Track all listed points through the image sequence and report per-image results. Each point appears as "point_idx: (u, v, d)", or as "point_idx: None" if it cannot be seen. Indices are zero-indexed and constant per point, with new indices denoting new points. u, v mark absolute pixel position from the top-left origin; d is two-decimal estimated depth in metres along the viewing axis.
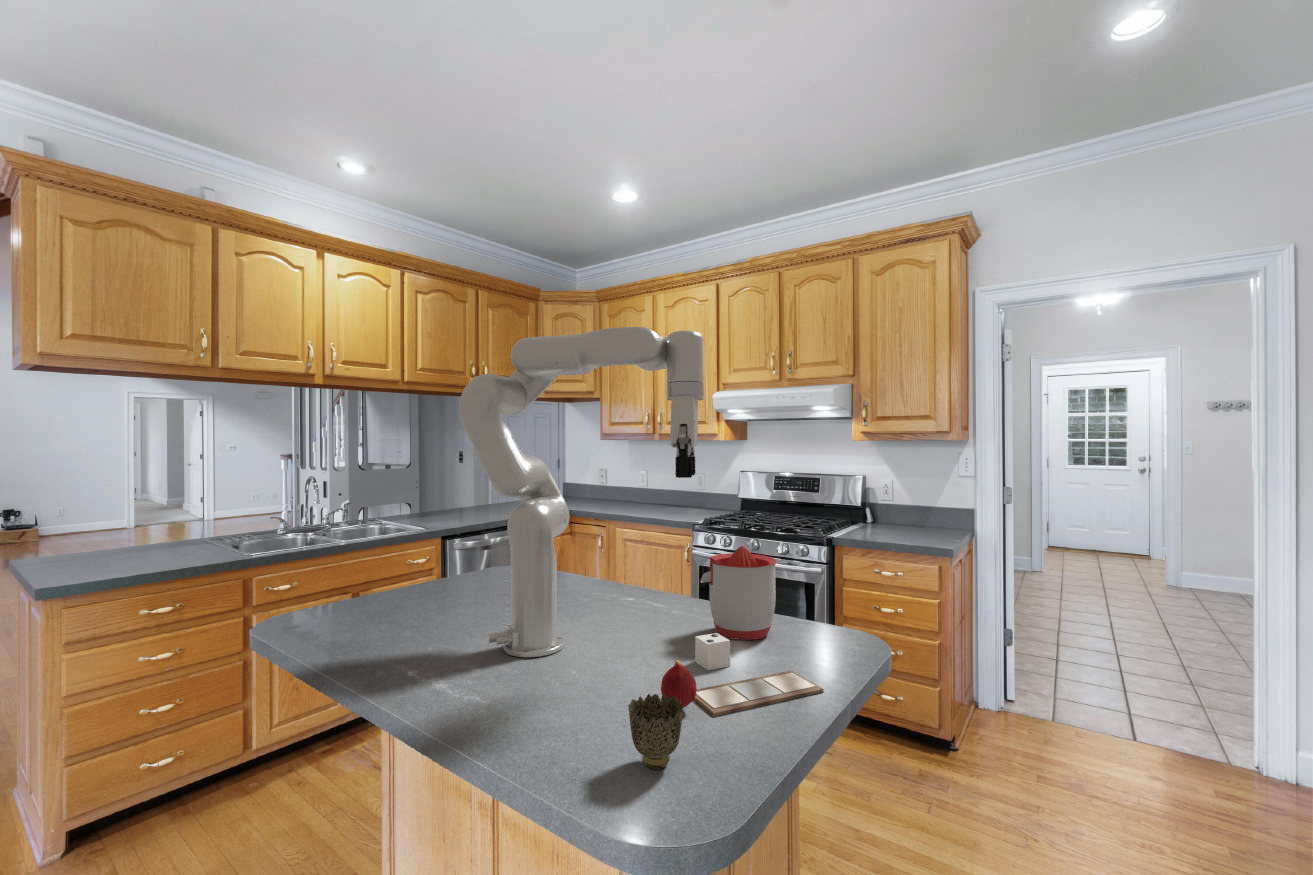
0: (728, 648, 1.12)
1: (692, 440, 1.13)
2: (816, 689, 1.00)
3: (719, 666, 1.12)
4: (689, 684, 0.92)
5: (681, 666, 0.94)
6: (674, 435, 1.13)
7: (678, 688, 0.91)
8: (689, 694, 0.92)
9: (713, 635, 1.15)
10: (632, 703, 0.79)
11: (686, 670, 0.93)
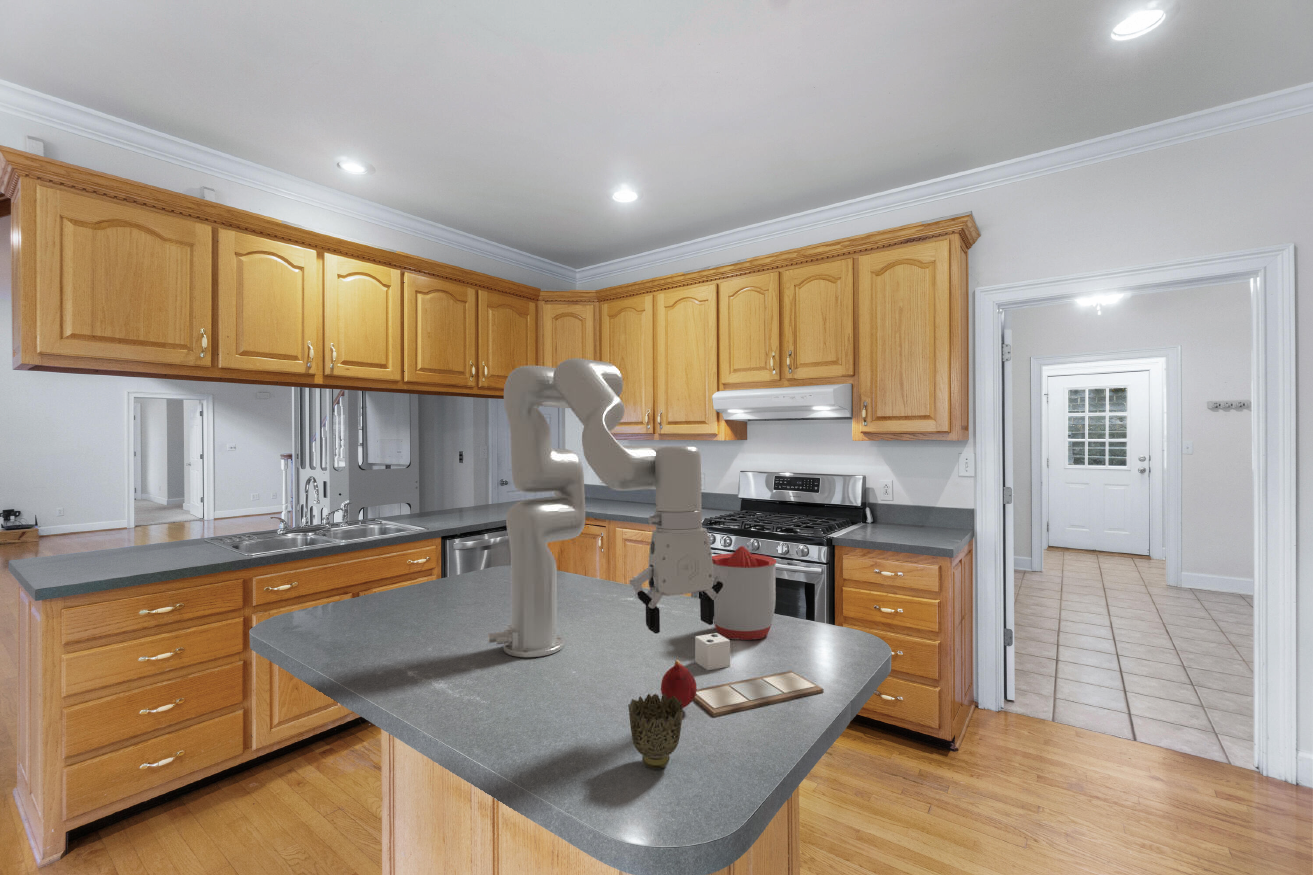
0: (728, 648, 1.12)
1: None
2: (816, 689, 1.00)
3: (719, 666, 1.12)
4: (689, 684, 0.92)
5: (681, 666, 0.94)
6: None
7: (678, 688, 0.91)
8: (689, 694, 0.92)
9: (713, 635, 1.15)
10: (632, 703, 0.79)
11: (686, 670, 0.93)
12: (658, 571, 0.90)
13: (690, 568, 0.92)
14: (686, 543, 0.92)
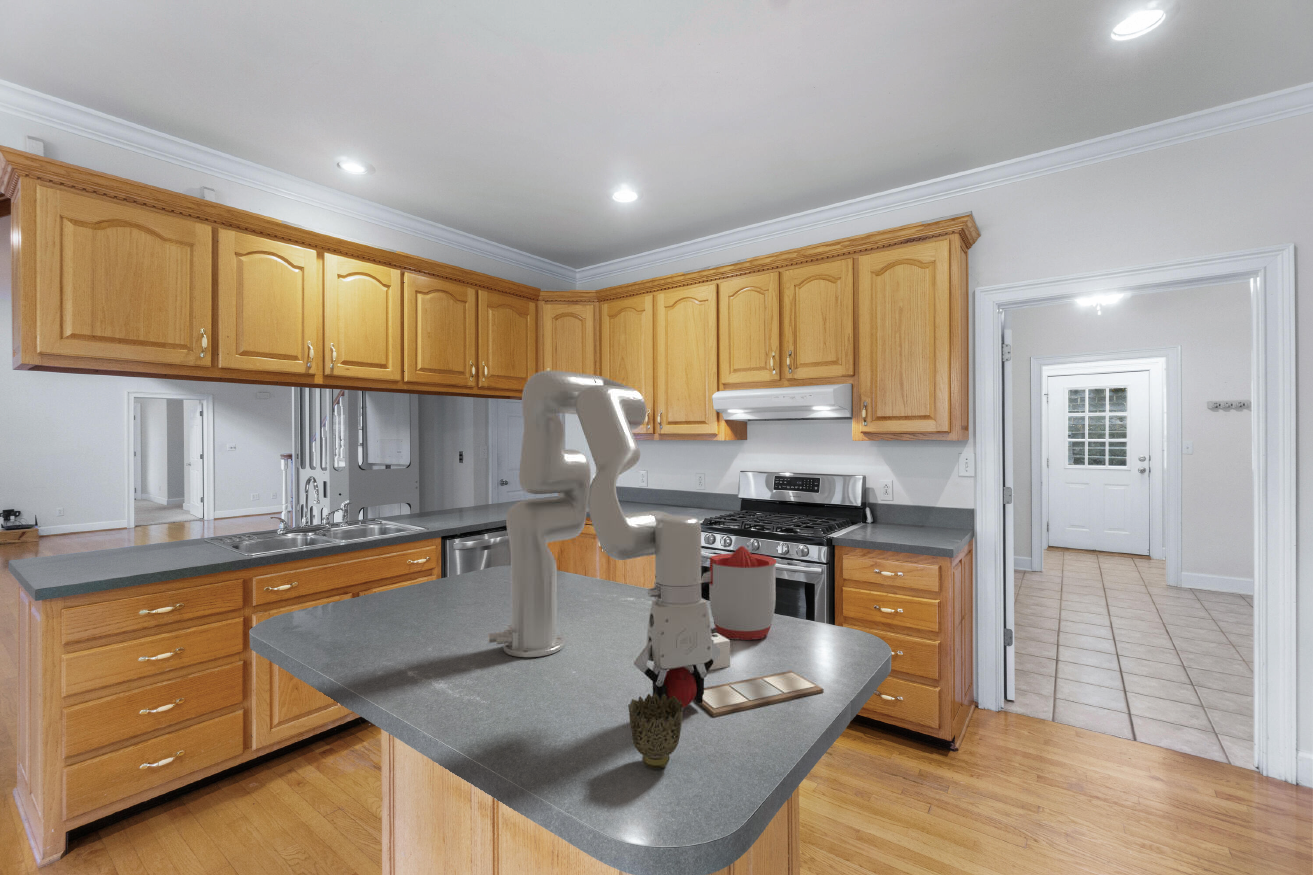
0: (728, 648, 1.12)
1: None
2: (816, 689, 1.00)
3: (719, 666, 1.12)
4: (689, 684, 0.92)
5: None
6: None
7: (678, 688, 0.91)
8: (689, 694, 0.92)
9: (713, 635, 1.15)
10: (632, 703, 0.79)
11: (686, 670, 0.93)
12: (657, 646, 0.90)
13: (689, 641, 0.92)
14: (685, 616, 0.92)
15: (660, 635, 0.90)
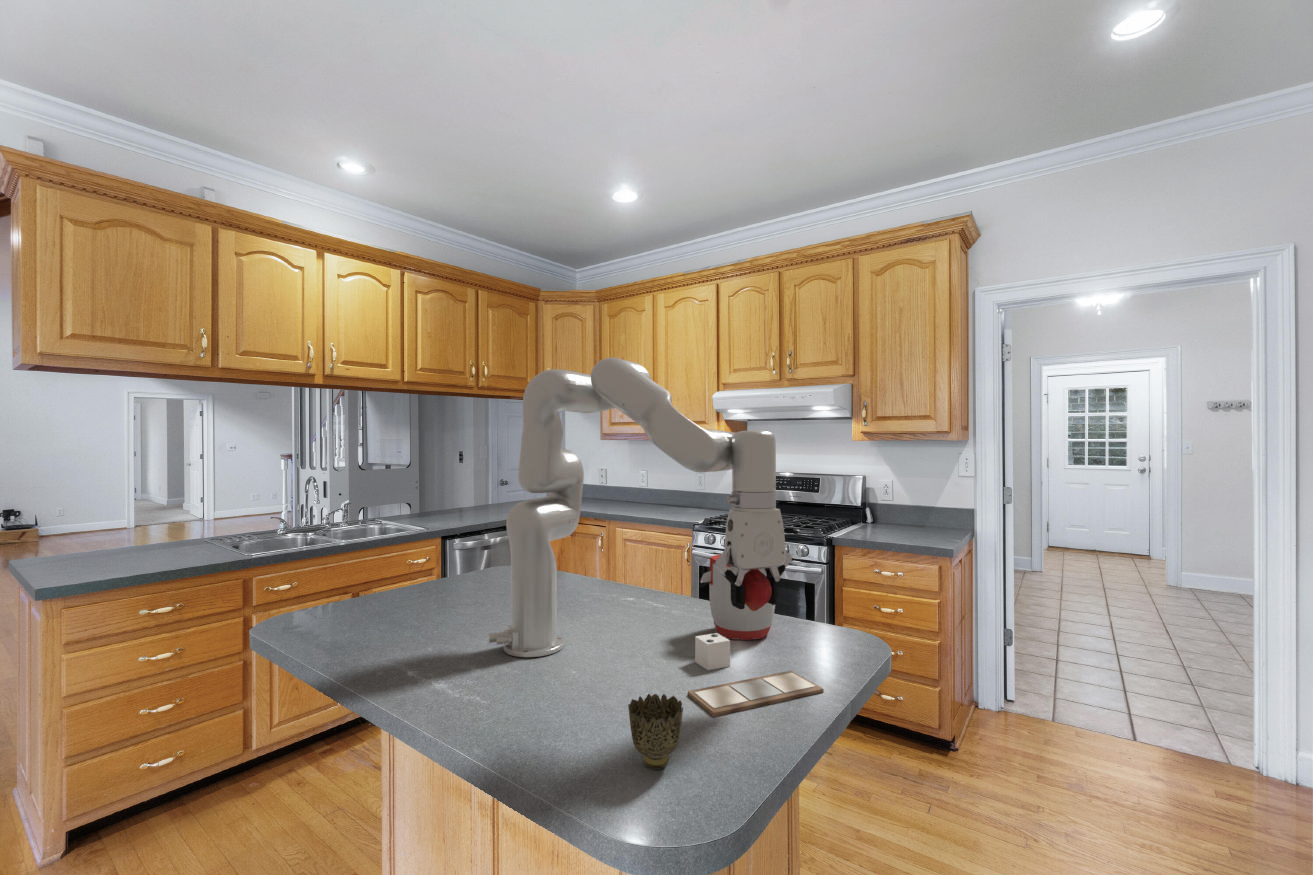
0: (728, 648, 1.12)
1: None
2: (816, 689, 1.00)
3: (719, 666, 1.12)
4: (765, 585, 0.98)
5: (757, 569, 1.00)
6: None
7: (756, 588, 0.98)
8: (766, 594, 0.98)
9: (713, 635, 1.15)
10: (632, 703, 0.79)
11: (762, 573, 1.00)
12: (737, 547, 0.96)
13: (765, 545, 0.98)
14: (762, 521, 0.98)
15: (740, 537, 0.96)
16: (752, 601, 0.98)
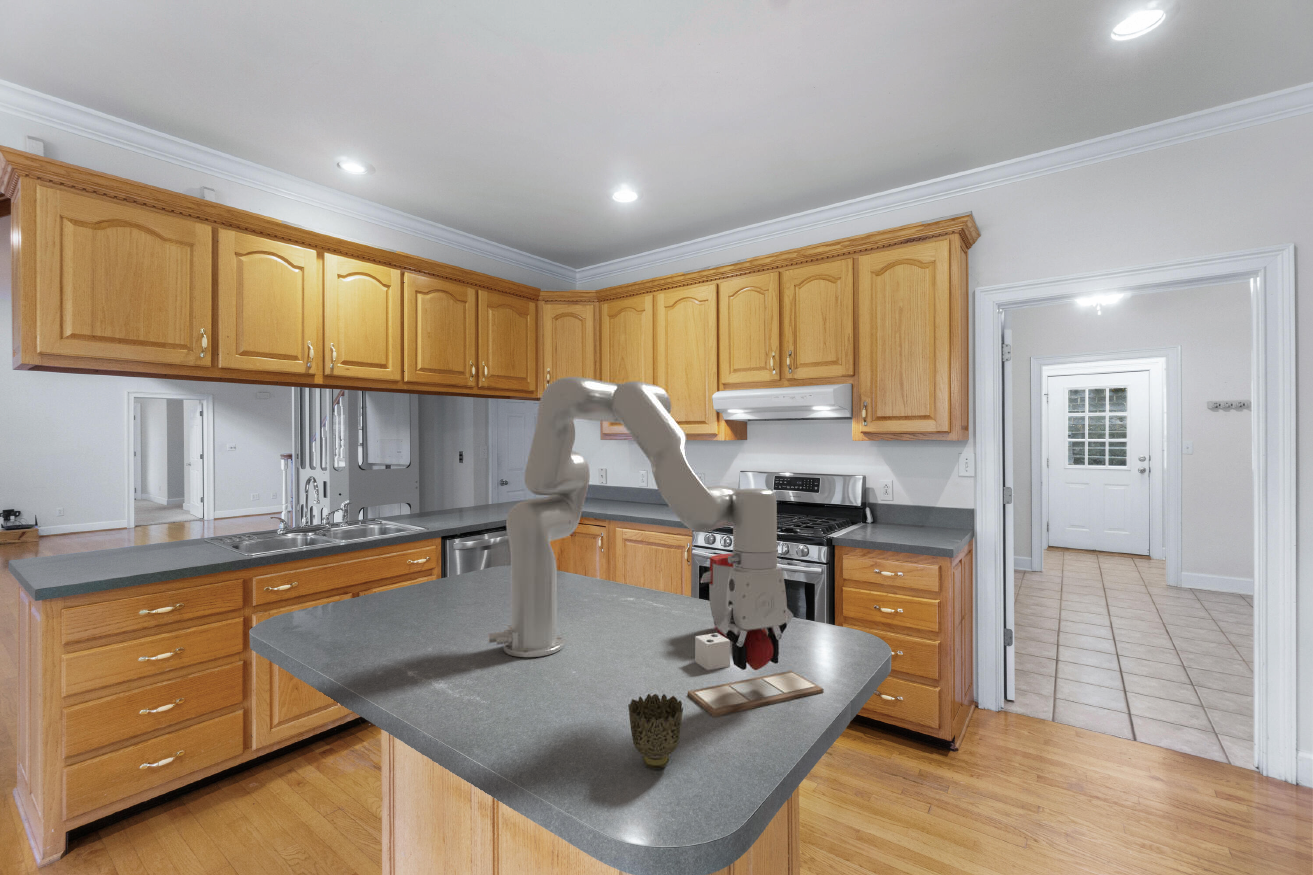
0: (728, 648, 1.12)
1: None
2: (816, 689, 1.00)
3: (719, 666, 1.12)
4: (767, 645, 0.98)
5: None
6: None
7: (757, 648, 0.97)
8: (768, 654, 0.98)
9: (713, 635, 1.15)
10: (632, 703, 0.79)
11: (763, 632, 1.00)
12: (738, 608, 0.96)
13: (767, 605, 0.98)
14: (763, 581, 0.98)
15: (741, 598, 0.96)
16: (754, 661, 0.98)
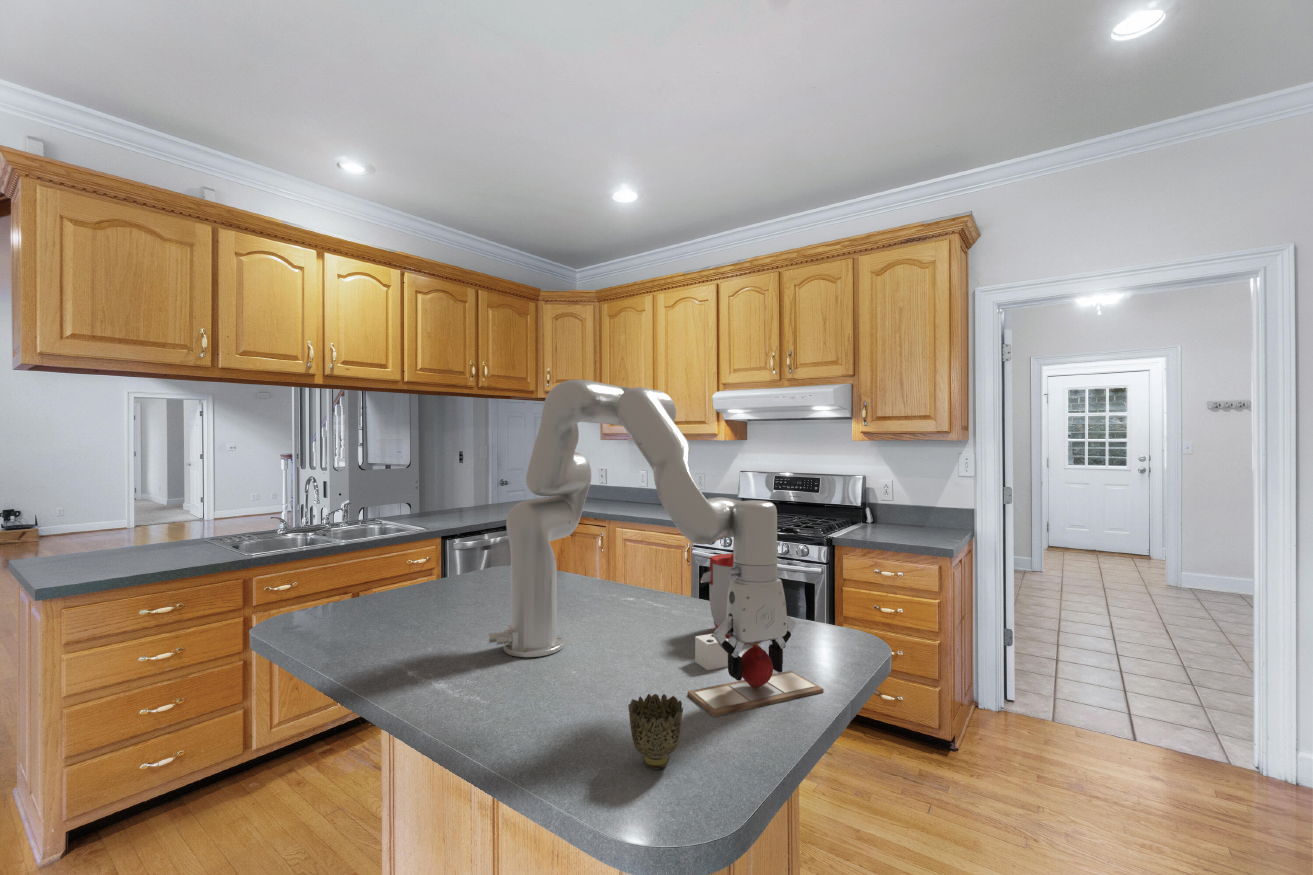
0: None
1: None
2: (816, 689, 1.00)
3: (719, 666, 1.12)
4: (767, 664, 0.98)
5: (759, 647, 1.00)
6: None
7: (757, 667, 0.98)
8: (767, 673, 0.98)
9: None
10: (632, 703, 0.79)
11: (764, 651, 1.00)
12: (738, 621, 0.96)
13: (767, 617, 0.98)
14: (764, 594, 0.98)
15: (742, 611, 0.96)
16: (753, 680, 0.98)
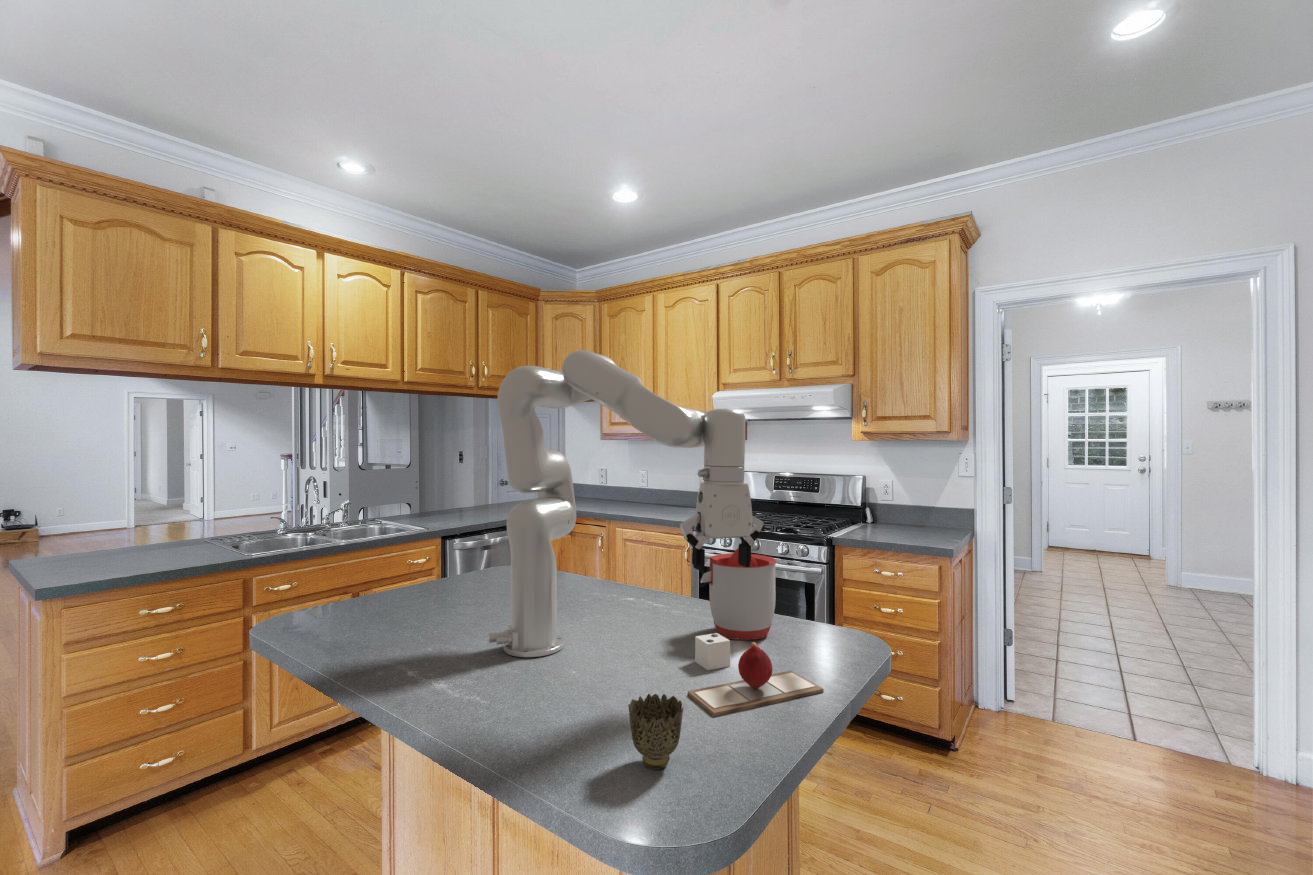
0: (728, 648, 1.12)
1: None
2: (816, 689, 1.00)
3: (719, 666, 1.12)
4: (766, 664, 0.98)
5: (758, 648, 1.00)
6: None
7: (757, 668, 0.98)
8: (767, 673, 0.98)
9: (713, 635, 1.15)
10: (632, 703, 0.79)
11: (762, 651, 1.00)
12: (705, 517, 1.03)
13: (733, 516, 1.05)
14: (730, 494, 1.05)
15: (708, 508, 1.03)
16: (753, 681, 0.98)
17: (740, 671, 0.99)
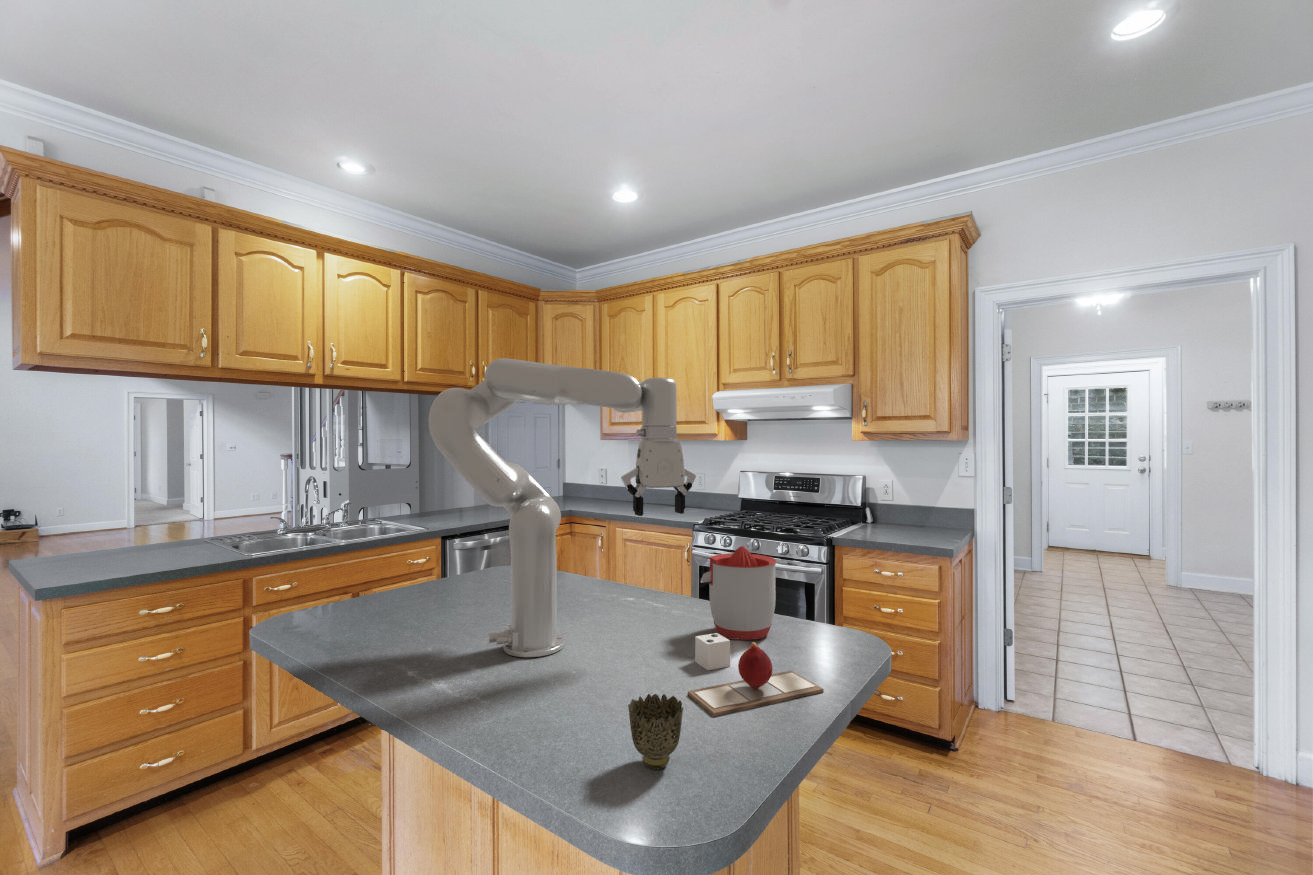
0: (728, 648, 1.12)
1: None
2: (816, 689, 1.00)
3: (719, 666, 1.12)
4: (766, 664, 0.98)
5: (758, 648, 1.00)
6: None
7: (757, 668, 0.98)
8: (767, 673, 0.98)
9: (713, 635, 1.15)
10: (632, 703, 0.79)
11: (762, 651, 1.00)
12: (642, 469, 1.21)
13: (667, 469, 1.23)
14: (664, 449, 1.23)
15: (645, 461, 1.21)
16: (753, 681, 0.98)
17: (740, 671, 0.99)
